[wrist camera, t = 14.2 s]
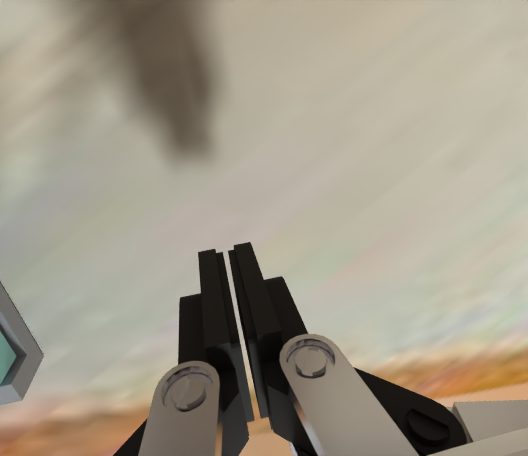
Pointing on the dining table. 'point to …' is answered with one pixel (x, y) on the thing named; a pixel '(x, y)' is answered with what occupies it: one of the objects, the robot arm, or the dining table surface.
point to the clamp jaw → (5, 357)
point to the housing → (17, 352)
